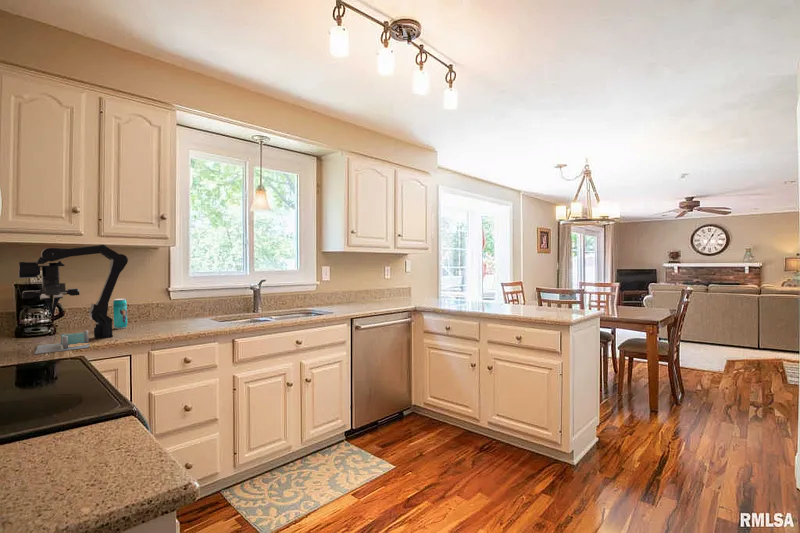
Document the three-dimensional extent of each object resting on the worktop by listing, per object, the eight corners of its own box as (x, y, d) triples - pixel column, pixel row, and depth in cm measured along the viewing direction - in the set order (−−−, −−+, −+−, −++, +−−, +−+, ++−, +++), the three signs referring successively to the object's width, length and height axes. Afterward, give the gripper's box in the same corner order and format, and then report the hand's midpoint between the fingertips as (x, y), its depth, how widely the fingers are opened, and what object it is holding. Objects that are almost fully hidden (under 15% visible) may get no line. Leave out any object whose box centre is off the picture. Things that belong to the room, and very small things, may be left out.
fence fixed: (88, 342, 182) (88, 330, 182) (88, 342, 181) (88, 330, 181) (66, 344, 178) (66, 332, 178) (66, 345, 177) (66, 333, 176)
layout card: (88, 340, 187) (88, 339, 187) (89, 347, 173) (89, 346, 173) (37, 346, 177) (37, 345, 177) (34, 354, 163) (34, 353, 163)
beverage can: (120, 329, 214) (119, 299, 213) (111, 328, 215) (110, 299, 214) (130, 327, 219) (129, 298, 219) (120, 326, 221) (119, 298, 220)
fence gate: (60, 344, 177) (60, 333, 176) (65, 344, 178) (65, 333, 178) (63, 348, 170) (62, 337, 169) (68, 347, 171) (67, 336, 171)
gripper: (22, 279, 169) (23, 317, 170) (80, 276, 182) (81, 313, 182) (21, 277, 177) (23, 314, 178) (77, 275, 190) (78, 310, 190)
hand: (52, 313), depth 182 cm, fingers closed
